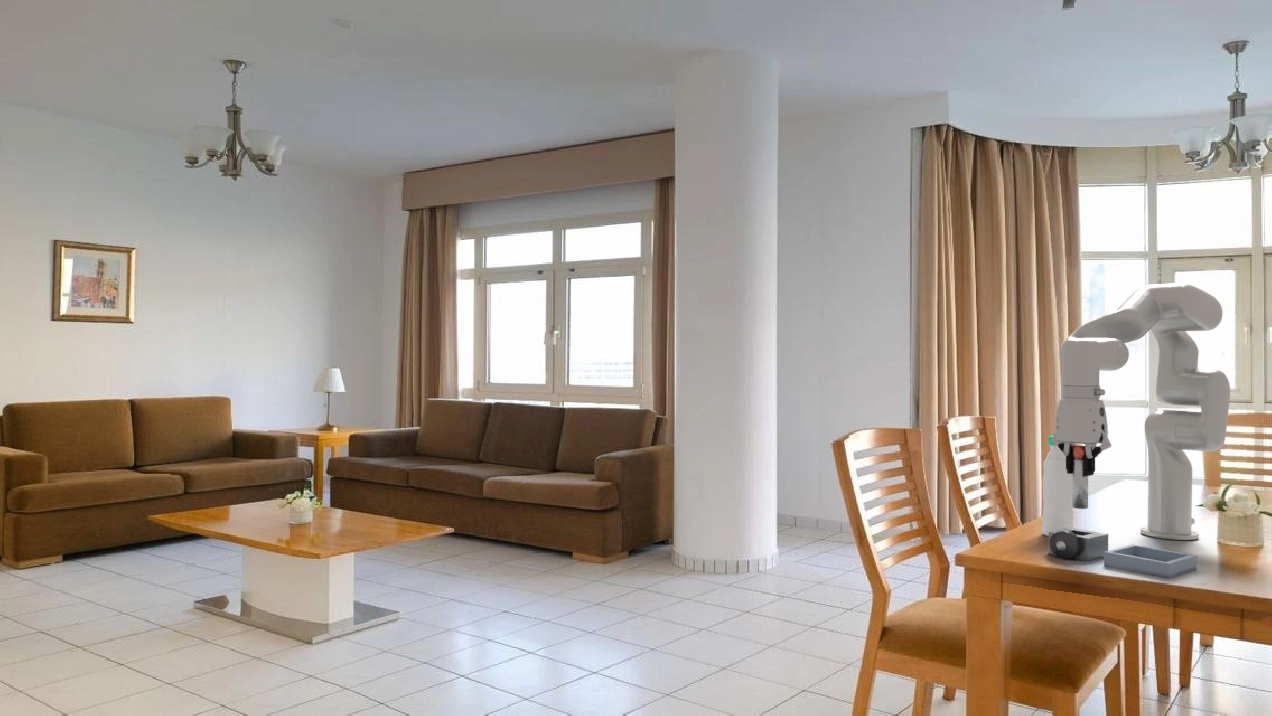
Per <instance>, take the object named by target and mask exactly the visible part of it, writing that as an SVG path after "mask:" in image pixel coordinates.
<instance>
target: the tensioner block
mask: <svg viewBox="0 0 1272 716" xmlns="http://www.w3.org/2000/svg"><path fill="white" fill-rule="evenodd" d="M1105 551H1109V533H1104V532H1098V531H1092V530H1086V529H1082V528H1081V529H1080V528H1075V527H1073V528H1070V527H1069V528H1064V529H1059V530H1055V531H1050V532H1049V536H1048V553H1049V554H1050V555H1053V554H1054V556H1055V557H1057V558H1059V559H1061V558H1062V560H1068V559H1074V560H1079V561H1085V562H1091V561H1095V560H1098V559H1104V552H1105Z"/></svg>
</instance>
